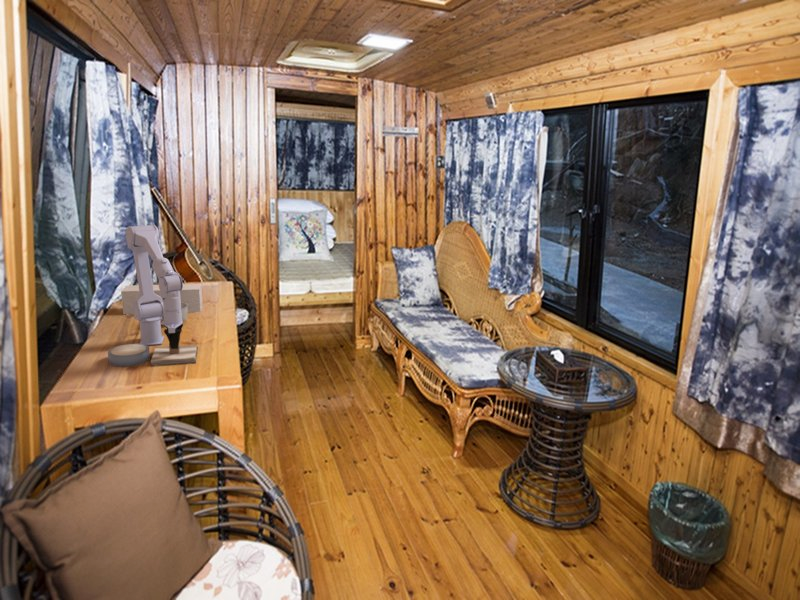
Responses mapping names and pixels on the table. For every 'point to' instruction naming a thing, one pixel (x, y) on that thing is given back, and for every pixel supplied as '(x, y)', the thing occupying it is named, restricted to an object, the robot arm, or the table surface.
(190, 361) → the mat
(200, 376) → the table surface
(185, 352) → the lid
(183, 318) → the teacup
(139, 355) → the bowl
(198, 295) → the pale grey long block
